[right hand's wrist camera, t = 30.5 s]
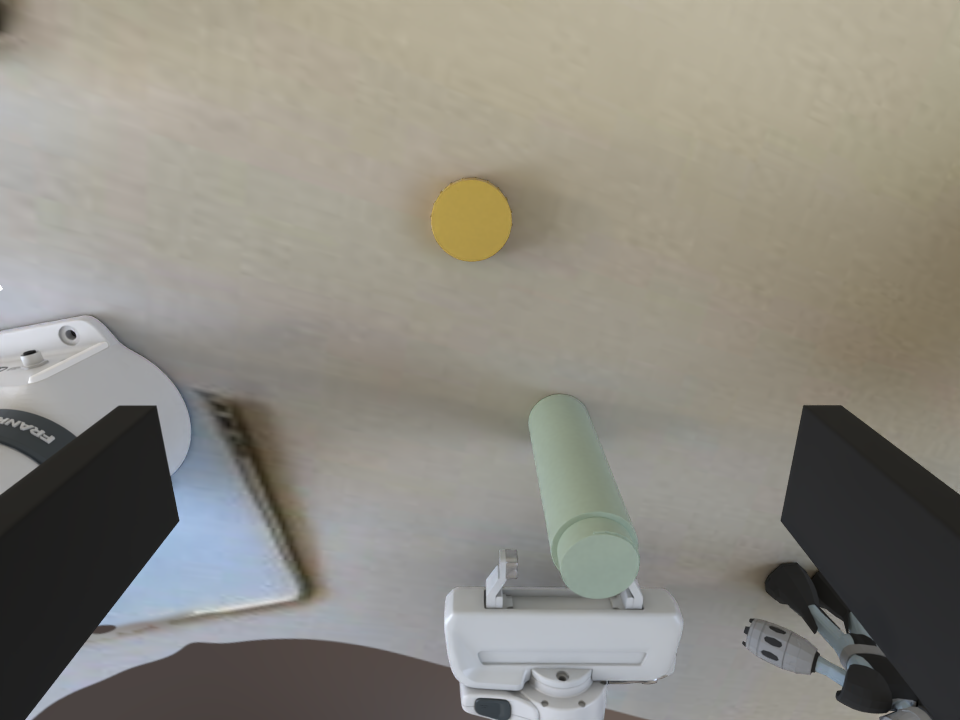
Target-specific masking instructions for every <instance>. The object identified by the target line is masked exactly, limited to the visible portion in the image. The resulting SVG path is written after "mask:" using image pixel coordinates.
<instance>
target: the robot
mask: <svg viewBox="0 0 960 720" xmlns="http://www.w3.org/2000/svg"><path fill="white" fill-rule="evenodd" d="M765 584H766V592H767V593H768V594H769V595H771V596H772V597H773V598H774V599H775V600H777V601H778V602H779V603H781V604H788V605H789V606H790V608H792V609H793V610H794V611H795V612H796V613H798V615H800V616H801V617H802V618H803V619H804V621H805V622H806V623H807V625H808V626H809V627H810V629H811V630H812V631H813V633H814V634H815V633H816V632H817V631H818V632H819V633H820V634H821V635H822V636H823V637H824V639H825V640H826V641H827V642H828V643H829V644H830V645H831V646H832V647H833V648H834V650H835V651H836V653H837V655H838V656H839V659H840V662H841V664H842V665H843V667H844V668H845V670H844V669H842V668H840V667H838V666H836V665H834V664H832V663H830V662H829V661H827V660H826V659H824V658H822V657H821V656H820V654H819V653H818V652H817V648H816V647H815V646H813V645H812V644H811V643H810V642H809V641H808V640H806V639H805V638H803V637H801V636H799V635H798V634H796V633H794V632H792V631H791V630H788V629H786V628H783V627H781V626H778V625H776V624H773V623H770V622H767V621H764V620H760V619H750V620H749V622H751V623H752V624H751V626H750V627H745V630H744V633H745V634H747V640H746V643H745V642H744V641H743V643H742V644H743V645H744V646H745V647H746V648H747V649H748V650H750V651H751V652H752V653H754V654H755V655H756V656H758V657H759V658H761V659H763V660H765V661H767V662H769V663H771V664H773V665H775V666H777V667H780V668H782V669H785V670H788V671H792V672H795V673H799V674H810V675H811V673H812V672H818V673H821V674H823V675H826V676H828V677H829V678H831V679H832V680H834V681H835V682H836V683H838V684H839V685H841V686H842V687H843V688H842V690H840V691H837V693H836V699H837V700H838V701H839V702H841V703H843V704H844V705H846V706H848V707H850V708H852V709H855V710H858V711H861V712H867V713H887V712H888V711H895V712H892V713H890V714H887V715H885V716H882V717H879V719H880V720H935V719H934V718H933V717H932V715H931V714H930V713H929V711H928V710H927V709H926V708H925V706H924V705H923V704H922V702H921V701H920V700H919V699H918V697H917V696H916V695H915V693H914V692H913V691H912V690H911V688H910V687H909V686H908V684H907V683H906V682H905V680H904V679H903V678H902V677H901V675H900V674H899V673H898V671H897V670H896V669H895V668H894V666H893V665H892V664H891V662H890V661H889V660H888V659H887V657H886V656H885V655H884V653H883V652H882V651H881V650H880V648H879V647H878V646H877V644H876V643H875V642H874V641H873V639H872V638H871V637H870V635H869V634H868V633H867V631H866V630H865V629H864V628H863V626H862V625H861V624H860V622H859V621H858V620H857V619H856V617H855V616H854V615H853V613H852V612H851V611H850V610H849V608H848V607H847V606H846V604H845V603H844V602H843V601H842V599H841V598H840V597H839V595H838V594H837V593H836V591H835V590H834V589H833V588H832V586H831V585H830V584H829V582H828V581H827V580H826V579H825V577H824V576H823V575H822V573H821V572H817V573H816V574H815V576H814V577H813V579H812V580H811V578H810V577H809V576H808V574H807V572H806V571H805V570H804V569H803V568H802V567H801V566H800V565H799V564H798V563H790V564H781V565H780V566H779V567H778V568H777V569H776V570H775V571H774V572H772V573H771V574H770V575H769V576H768V578H767V580H766V582H765ZM820 607H821V608H825V609H827V610H828V611H829V612H831V613H832V614H833V615H835V616H836V617H837V618H839V619H841V620H842V621H844V625H845V629H846V633H847V634H844V633H843V632H842V631H841V630H840V628H839V627H838V626H837V625H836V624H835V623H834V622H833V621H832V620H831V619H830V618H829V617H828V616H827V615H826V614H825V612H824V611H823V610H822V609H821V608H820ZM848 631H849V632H850V633H848Z"/></svg>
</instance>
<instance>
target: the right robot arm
mask: <svg viewBox="0 0 960 720" xmlns="http://www.w3.org/2000/svg"><path fill="white" fill-rule="evenodd" d="M178 522H179V517H178V511H177V506H176V501H175V496H174V491H173V486H172V481H171V476H170V471H169V466H168V461H167V456H166V451H165V446H164V441H163V436H162V430H161V425H160V420H159V415H158V410H157V405H119V406H117V407H116V408H115V409H113V410H112V411H111V412H109V413H108V414H107V415H105V416H104V417H103V418H101V419H100V420H99V421H97V422H96V423H95V424H93V425H92V426H91V427H90V428H88V429H87V430H86V431H84V432H83V433H82V434H80V435H79V436H78V437H76V438H75V439H74V440H72V441H71V442H70V443H68V444H67V445H66V446H64V447H63V448H62V449H60V450H59V451H58V452H56V453H55V454H54V455H52V456H51V457H50V458H48V459H47V460H46V461H44V462H43V463H42V464H40V465H39V466H38V467H36V468H35V469H34V470H32V471H31V472H30V473H29V474H27V475H26V476H25V477H23V478H22V479H21V480H19V481H18V482H17V483H15V484H14V485H13V486H11V487H10V488H9V489H7V490H6V491H5V492H3V493H2V494H1V495H0V720H25V719H26V718H27V717H28V715H29V714H30V713H31V711H32V710H33V709H34V708H35V706H36V705H37V704H38V702H39V701H40V700H41V699H42V697H43V696H44V695H45V693H46V692H47V691H48V690H49V688H50V687H51V686H52V684H53V683H54V682H55V680H56V679H57V678H58V677H59V675H60V674H61V673H62V671H63V670H64V669H65V668H66V666H67V665H68V664H69V662H70V661H71V660H72V659H73V657H74V656H75V655H76V653H77V652H78V651H79V650H80V648H81V647H82V646H83V644H84V643H85V642H86V641H87V639H88V638H89V637H90V635H91V634H92V633H93V631H94V630H95V629H96V628H97V626H98V625H99V624H100V622H101V621H102V620H103V619H104V617H105V616H106V615H107V613H108V612H109V611H110V610H111V608H112V607H113V606H114V604H115V603H116V602H117V601H118V599H119V598H120V597H121V595H122V594H123V593H124V591H125V590H126V589H127V588H128V586H129V585H130V584H131V582H132V581H133V580H134V579H135V577H136V576H137V575H138V573H139V572H140V571H141V570H142V568H143V567H144V566H145V564H146V563H147V562H148V561H149V559H150V558H151V557H152V555H153V554H154V553H155V552H156V550H157V549H158V548H159V546H160V545H161V544H162V542H163V541H164V540H165V539H166V537H167V536H168V535H169V533H170V532H171V531H172V530H173V528H174V527H175V526H176V524H177V523H178ZM781 522H782V523H783V524H784V526H785V527H786V528H787V530H788V531H789V532H790V533H791V535H792V536H793V537H794V539H795V540H796V541H797V542H798V544H799V545H800V546H801V548H802V549H803V550H804V552H805V553H806V554H807V555H808V557H809V558H810V559H811V561H812V562H813V563H814V564H815V566H816V567H817V568H818V570H819V571H820V572H821V573H822V575H823V576H824V577H825V579H826V580H827V581H828V582H829V584H830V585H831V586H832V588H833V589H834V590H835V591H836V593H837V594H838V595H839V597H840V598H841V599H842V601H843V602H844V603H845V604H846V606H847V607H848V608H849V610H850V611H851V612H852V613H853V615H854V616H855V617H856V619H857V620H858V621H859V622H860V624H861V625H862V626H863V628H864V629H865V630H866V631H867V633H868V634H869V635H870V637H871V638H872V639H873V641H874V642H875V643H876V644H877V646H878V647H879V648H880V650H881V651H882V652H883V653H884V655H885V656H886V657H887V659H888V660H889V661H890V662H891V664H892V665H893V666H894V668H895V669H896V670H897V671H898V673H899V674H900V675H901V677H902V678H903V679H904V680H905V682H906V683H907V684H908V686H909V687H910V688H911V690H912V691H913V692H914V693H915V695H916V696H917V697H918V699H919V700H920V701H921V702H922V704H923V705H924V706H925V708H926V709H927V710H928V711H929V713H930V714H931V715H932V717H933V718H934V719H935V720H960V495H959V494H958V493H957V492H955V491H954V490H953V489H951V488H950V487H949V486H947V485H946V484H945V483H943V482H942V481H941V480H939V479H938V478H937V477H935V476H934V475H933V474H931V473H930V472H929V471H928V470H926V469H925V468H924V467H922V466H921V465H920V464H918V463H917V462H916V461H914V460H913V459H912V458H910V457H909V456H908V455H906V454H905V453H904V452H902V451H901V450H900V449H898V448H897V447H896V446H894V445H893V444H892V443H890V442H889V441H888V440H886V439H885V438H884V437H882V436H881V435H880V434H878V433H877V432H876V431H874V430H873V429H872V428H870V427H869V426H868V425H867V424H865V423H864V422H863V421H861V420H860V419H859V418H857V417H856V416H855V415H853V414H852V413H851V412H849V411H848V410H847V409H845V408H844V407H843V406H841V405H803V410H802V415H801V420H800V425H799V430H798V436H797V441H796V446H795V451H794V456H793V461H792V466H791V471H790V476H789V481H788V486H787V491H786V496H785V501H784V506H783V512H782V517H781Z"/></svg>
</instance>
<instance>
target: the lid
mask: <svg viewBox="0 0 960 720" xmlns="http://www.w3.org/2000/svg"><path fill="white" fill-rule="evenodd" d="M433 205H434V207H433V211H432V215H431V225H432V230H433V234H434V236H435V239H436V241H437V242H438V244H439V245H440V247H441V248H442V249H443V250H444V251H445V252H446V253H448V254H449V255H451V256H452V257H454V258H457V259H459V260H463V261H472V262H474V261H481V260H484V259H487V258H489V257H491V256H493V255H494V254H496V253H497V252H498V251H499V250H500V249H501V248H502V247H503V246H504V244H505V243H506V241H507V239H508V238H509V234H510V231H511V226H512V216H511V213H512V211H511V209H510V207H509V205H508V202H507V198H506V197H505V196H504V195H503V194H502V192H501V191H500V189H499V187H498V188H497V187H496V186H494V185H493V184H491V183H490V182H489V181H488V180H487V181H485V180H482V179H478V178H476V177H475V178H465V179H464V178H462V179H461V180H458V181H456V182H453V183H452V182H451V183H450V185H449V186H448V187H446V188H445V189H444V190H443V191H441V192H440V195H439V197H438V199H437V200H436V201H435V202H434V204H433Z"/></svg>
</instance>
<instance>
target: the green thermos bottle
mask: <svg viewBox="0 0 960 720" xmlns="http://www.w3.org/2000/svg"><path fill="white" fill-rule="evenodd" d="M528 425H529V432H530V437H531V443H532V449H533V454H534V460H535V466H536V471H537V477H538V483H539V488H540V494H541V500H542V505H543V511H544V517H545V522H546V528H547V534H548V539H549V545H550V551H551V556H552V560H553V562H554V564H555V566H556V567H557V569H558V570H559V571H560V572H561V576H562V579H563V581H564V583H565V584H566V586H567V587H568V588H569V589H570V590H572V591H573V592H574V593H576V594H578V595H580V596H583V597H586V598H591V599H603V598H609V597H612V596H615V595H617V594H619V593H621V592H623V591H624V590H626V589H627V588H628V587H629V586H630V585H631V584H632V583H633V581H634V580H635V578H636V576H637V574H638V570H639V566H640V555H639V552H638V539H637V535H636V533H635V530H634V527H633V525H632V522H631V520H630V517H629V515H628V512H627V510H626V507H625V505H624V502H623V500H622V497H621V495H620V492H619V490H618V487H617V485H616V482H615V480H614V477H613V475H612V472H611V470H610V467H609V464H608V462H607V459H606V457H605V454H604V452H603V449H602V447H601V444H600V442H599V439H598V437H597V434H596V432H595V429H594V427H593V424H592V422H591V419H590V417H589V414H588V412H587V409H586V407H585V406H584V405H583V403H581V402H580V401H579V400H578V399H576V398H574V397H572V396H570V395H565V394H556V395H551V396H548V397H545V398H544V399H542V400H540V401H539V402H538V403H537V404H536V405H535V406H534V407H533V409H532V411H531V413H530V415H529V420H528Z"/></svg>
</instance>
